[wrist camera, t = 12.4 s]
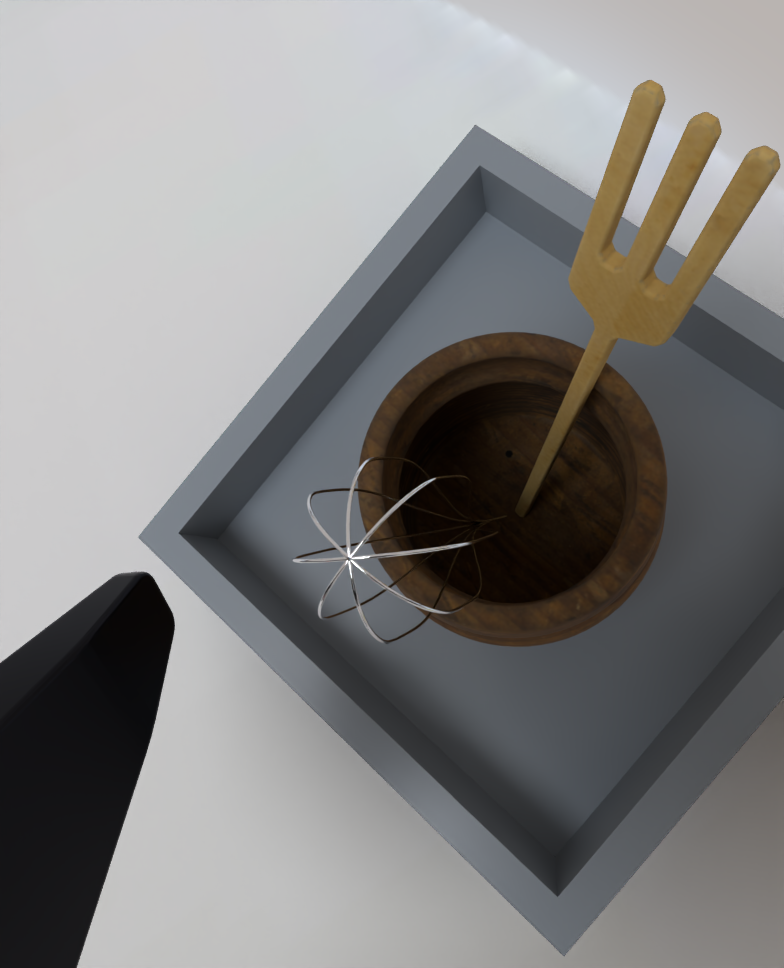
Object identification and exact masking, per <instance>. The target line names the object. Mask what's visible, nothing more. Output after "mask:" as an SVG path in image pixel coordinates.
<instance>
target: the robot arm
mask: <svg viewBox="0 0 784 968" xmlns="http://www.w3.org/2000/svg"><path fill="white" fill-rule="evenodd" d="M174 630H175V623H174V617H173V613H172V611H171V609H170V607H169V606H168V604H167V602H166V600H165V598H164V596H163V595H162V593H161V591H160V589H159V587H158V585H157V583H156V582H155V580H154V578H153V577H152V576H151V575H150V574H149V573H147V572H131V573H121V574H118V575H115V576H114V577H112V578H111V579H110V580H108V581H107V582H106V583H104V584H103V585H102V586H100V587H99V588H98V589H96V590H95V591H94V592H93V593H91V594H90V595H89V596H87V597H86V598H85V599H83V600H82V601H81V602H79V603H78V604H77V605H76V606H74V607H73V608H72V609H70V610H69V611H68V612H66V613H65V614H64V615H62V616H61V617H60V618H59V619H57V620H56V621H55V622H53V623H52V624H51V625H49V626H48V627H47V628H45V629H44V630H43V631H42V632H40V633H39V634H38V635H36V636H35V637H34V638H32V639H31V640H30V641H28V642H27V643H26V644H24V645H23V646H22V647H21V648H19V649H18V650H17V651H15V652H14V653H13V654H11V655H10V656H9V657H7V658H6V659H5V660H4V661H2V662H1V663H0V968H77V965H78V962H79V959H80V956H81V953H82V950H83V947H84V944H85V941H86V937H87V934H88V931H89V928H90V925H91V922H92V919H93V916H94V913H95V910H96V907H97V904H98V901H99V897H100V894H101V891H102V888H103V885H104V882H105V879H106V876H107V873H108V870H109V867H110V864H111V861H112V857H113V854H114V851H115V848H116V845H117V842H118V839H119V836H120V833H121V830H122V827H123V824H124V821H125V818H126V814H127V811H128V808H129V805H130V802H131V799H132V796H133V793H134V790H135V787H136V784H137V781H138V778H139V774H140V771H141V768H142V765H143V762H144V759H145V756H146V753H147V749H148V746H149V743H150V739H151V736H152V732H153V728H154V724H155V720H156V715H157V711H158V706H159V701H160V697H161V692H162V687H163V683H164V678H165V673H166V668H167V664H168V659H169V654H170V650H171V645H172V640H173V636H174Z"/></svg>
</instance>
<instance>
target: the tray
mask: <svg viewBox="0 0 784 968" xmlns="http://www.w3.org/2000/svg"><path fill="white" fill-rule="evenodd" d="M594 203H595V200H594V199H593V198H591V197H589V196H588V195H586V194H585V193H583V192H581V191H580V190H578V189H577V188H575V187H574V186H572V185H570V184H569V183H567V182H566V181H564V180H562V179H561V178H559V177H558V176H556V175H554V174H553V173H551V172H550V171H548V170H547V169H545V168H543V167H542V166H540V165H539V164H537V163H535V162H534V161H532V160H531V159H529V158H528V157H526V156H524V155H523V154H521V153H520V152H518V151H516V150H515V149H513V148H512V147H510V146H508V145H507V144H505V143H504V142H502V141H501V140H499V139H497V138H496V137H494V136H493V135H491V134H489V133H488V132H486V131H485V130H483V129H481V128H480V127H478V126H477V125H475V126H474V127H473V128H472V130H471V131H470V132H469V133H468V134H467V136H466V137H465V138H464V139H463V141H462V142H461V143H460V144H459V145H458V147H457V148H456V149H455V150H454V152H453V153H452V154H451V155H450V156H449V158H448V159H447V160H446V161H445V163H444V164H443V165H442V166H441V167H440V169H439V170H438V171H437V172H436V174H435V175H434V176H433V177H432V178H431V180H430V181H429V182H428V183H427V185H426V186H425V187H424V188H423V189H422V191H421V192H420V193H419V194H418V196H417V197H416V198H415V199H414V200H413V202H412V203H411V204H410V205H409V207H408V208H407V209H406V210H405V211H404V213H403V214H402V215H401V216H400V218H399V219H398V220H397V221H396V222H395V224H394V225H393V226H392V227H391V229H390V230H389V231H388V232H387V233H386V235H385V236H384V237H383V238H382V240H381V241H380V242H379V243H378V244H377V246H376V247H375V248H374V249H373V251H372V252H371V253H370V254H369V255H368V257H367V258H366V259H365V260H364V262H363V263H362V264H361V265H360V266H359V268H358V269H357V270H356V271H355V273H354V274H353V275H352V276H351V277H350V279H349V280H348V281H347V282H346V284H345V285H344V286H343V287H342V288H341V290H340V291H339V292H338V293H337V295H336V296H335V297H334V298H333V299H332V301H331V302H330V303H329V304H328V306H327V307H326V308H325V309H324V310H323V312H322V313H321V314H320V315H319V317H318V318H317V319H316V320H315V321H314V323H313V324H312V325H311V326H310V328H309V329H308V330H307V331H306V332H305V334H304V335H303V336H302V337H301V339H300V340H299V341H298V342H297V343H296V345H295V346H294V347H293V348H292V350H291V351H290V352H289V353H288V354H287V356H286V357H285V358H284V359H283V361H282V362H281V363H280V364H279V365H278V367H277V368H276V369H275V370H274V372H273V373H272V374H271V375H270V376H269V378H268V379H267V380H266V381H265V383H264V384H263V385H262V386H261V387H260V389H259V390H258V391H257V392H256V394H255V395H254V396H253V397H252V398H251V400H250V401H249V402H248V403H247V405H246V406H245V407H244V408H243V409H242V411H241V412H240V413H239V414H238V416H237V417H236V418H235V419H234V420H233V422H232V423H231V424H230V425H229V427H228V428H227V429H226V430H225V431H224V433H223V434H222V435H221V436H220V438H219V439H218V440H217V441H216V442H215V444H214V445H213V446H212V447H211V449H210V450H209V451H208V452H207V453H206V455H205V456H204V457H203V458H202V460H201V461H200V462H199V463H198V464H197V466H196V467H195V468H194V469H193V471H192V472H191V473H190V474H189V475H188V477H187V478H186V479H185V480H184V482H183V483H182V484H181V485H180V486H179V488H178V489H177V490H176V491H175V493H174V494H173V495H172V496H171V497H170V499H169V500H168V501H167V502H166V504H165V505H164V506H163V507H162V508H161V510H160V511H159V512H158V513H157V515H156V516H155V517H154V518H153V519H152V521H151V522H150V523H149V524H148V526H147V527H146V528H145V529H144V530H143V532H142V533H141V534H140V535H139V537H138V538H139V539H140V540H141V541H142V542H143V543H144V544H146V545H147V546H148V547H149V548H150V549H151V550H152V551H153V552H154V553H155V554H156V555H157V556H158V557H159V558H160V559H161V560H162V561H163V562H164V563H165V564H166V565H167V566H168V567H169V568H170V569H171V570H172V571H173V572H174V573H175V574H176V575H177V576H178V577H179V578H180V579H181V580H182V581H183V582H184V583H185V584H186V585H187V586H188V587H189V588H190V589H191V590H192V591H193V592H194V593H195V594H196V595H197V596H198V597H199V598H200V599H201V600H202V601H203V602H204V603H205V604H206V605H207V606H208V607H210V608H211V609H212V610H213V611H214V612H215V613H216V614H217V615H218V616H219V617H220V618H221V619H222V620H223V621H224V622H225V623H226V624H227V625H228V626H229V627H230V628H231V629H232V630H233V631H234V632H235V633H236V634H237V635H238V636H239V637H240V638H241V639H242V640H243V641H244V642H245V643H246V644H247V645H248V646H249V647H250V648H251V649H252V650H253V651H254V652H255V653H256V654H257V655H258V656H259V657H260V658H261V659H262V660H263V661H264V662H265V663H266V664H267V665H268V666H269V667H270V668H271V669H272V670H274V671H275V672H276V673H277V674H278V675H279V676H280V677H281V678H282V679H283V680H284V681H285V682H286V683H287V684H288V685H289V686H290V687H291V688H292V689H293V690H294V691H295V692H296V693H297V694H298V695H299V696H300V697H301V698H302V699H303V700H304V701H305V702H306V703H307V704H308V705H309V706H310V707H311V708H312V709H313V710H314V711H315V712H316V713H317V714H318V715H319V716H320V717H321V718H322V719H323V720H324V721H325V722H326V723H327V724H328V725H329V726H330V727H331V728H332V729H333V730H334V731H335V732H336V733H337V734H339V735H340V736H341V737H342V738H343V739H344V740H345V741H346V742H347V743H348V744H349V745H350V746H351V747H352V748H353V749H354V750H355V751H356V752H357V753H358V754H359V755H360V756H361V757H362V758H363V759H364V760H365V761H366V762H367V763H368V764H369V765H370V766H371V767H372V768H373V769H374V770H375V771H376V772H377V773H378V774H379V775H380V776H381V777H382V778H383V779H384V780H385V781H386V782H387V783H388V784H389V785H390V786H391V787H392V788H393V789H394V790H395V791H396V792H397V793H398V794H399V795H400V796H401V797H403V798H404V799H405V800H406V801H407V802H408V803H409V804H410V805H411V806H412V807H413V808H414V809H415V810H416V811H417V812H418V813H419V814H420V815H421V816H422V817H423V818H424V819H425V820H426V821H427V822H428V823H429V824H430V825H431V826H432V827H433V828H434V829H435V830H436V831H437V832H438V833H439V834H440V835H441V836H442V837H443V838H444V839H445V840H446V841H447V842H448V843H449V844H450V845H451V846H452V847H453V848H454V849H455V850H456V851H457V852H458V853H459V854H460V855H461V856H462V857H463V858H464V859H465V860H467V861H468V862H469V863H470V864H471V865H472V866H473V867H474V868H475V869H476V870H477V871H478V872H479V873H480V874H481V875H482V876H483V877H484V878H485V879H486V880H487V881H488V882H489V883H490V884H491V885H492V886H493V887H494V888H495V889H496V890H497V891H498V892H499V893H500V894H501V895H502V896H503V897H504V898H505V899H506V900H507V901H508V902H509V903H510V904H511V905H512V906H513V907H514V908H515V909H516V910H517V911H518V912H519V913H520V914H521V915H522V916H523V917H524V918H525V919H526V920H527V921H528V922H529V923H531V924H532V925H533V926H534V927H535V928H536V929H537V930H538V931H539V932H540V933H541V934H542V935H543V936H544V937H545V938H546V939H547V940H548V941H549V942H550V943H551V944H552V945H553V946H554V947H555V948H556V949H557V950H558V951H559V952H560V953H561V954H562V955H563V956H565V955H566V953H567V952H568V951H569V950H570V949H571V948H572V946H573V945H574V944H575V943H576V942H577V940H578V939H579V938H580V937H581V936H582V935H583V933H584V932H585V931H586V930H587V929H588V927H589V926H590V925H591V924H592V923H593V922H594V920H595V919H596V918H597V917H598V916H599V914H600V913H601V912H602V911H603V910H604V909H605V907H606V906H607V905H608V904H609V903H610V901H611V900H612V899H613V898H614V897H615V896H616V894H617V893H618V892H619V891H620V890H621V888H622V887H623V886H624V885H625V884H626V883H627V881H628V880H629V879H630V878H631V877H632V875H633V874H634V873H635V872H636V871H637V870H638V868H639V867H640V866H641V865H642V864H643V862H644V861H645V860H646V859H647V858H648V857H649V855H650V854H651V853H652V852H653V851H654V849H655V848H656V847H657V846H658V845H659V844H660V842H661V841H662V840H663V839H664V838H665V836H666V835H667V834H668V833H669V832H670V831H671V829H672V828H673V827H674V826H675V825H676V823H677V822H678V821H679V820H680V819H681V818H682V816H683V815H684V814H685V813H686V812H687V810H688V809H689V808H690V807H691V806H692V805H693V803H694V802H695V801H696V800H697V799H698V797H699V796H700V795H701V794H702V793H703V792H704V790H705V789H706V788H707V787H708V786H709V784H710V783H711V782H712V781H713V780H714V779H715V777H716V776H717V775H718V774H719V773H720V772H721V770H722V769H723V768H724V767H725V766H726V764H727V763H728V762H729V761H730V760H731V759H732V757H733V756H734V755H735V754H736V753H737V751H738V750H739V749H740V748H741V747H742V746H743V744H744V743H745V742H746V741H747V740H748V738H749V737H750V736H751V735H752V734H753V733H754V731H755V730H756V729H757V728H758V727H759V725H760V724H761V723H762V722H763V721H764V720H765V718H766V717H767V716H768V715H769V714H770V712H771V711H772V710H773V709H774V708H775V707H776V705H777V704H778V703H779V702H780V701H781V699H782V698H783V697H784V319H783V318H782V317H780V316H778V315H777V314H775V313H774V312H772V311H770V310H769V309H767V308H766V307H764V306H762V305H761V304H759V303H758V302H756V301H755V300H753V299H751V298H750V297H748V296H747V295H745V294H743V293H742V292H740V291H739V290H737V289H735V288H734V287H732V286H731V285H729V284H728V283H726V282H724V281H723V280H721V279H720V278H718V277H716V276H715V275H713V274H712V275H711V276H710V278H709V279H708V281H707V283H706V284H705V286H704V287H703V289H702V290H701V292H700V294H699V295H698V297H697V298H696V300H695V301H694V303H693V304H692V306H691V308H690V309H689V311H688V312H687V314H686V315H685V317H684V319H683V320H682V322H681V323H680V325H679V326H678V328H677V329H676V331H675V332H674V334H673V335H672V336H671V337H670V338H669V339H668V340H667V341H666V343H664V344H662V345H659V346H655V347H654V346H650V345H646V344H642V343H637V342H633V341H629V340H625V339H621V338H618V340H617V342H616V344H615V346H614V348H613V350H612V352H611V354H610V355H609V357H608V359H607V361H606V363H608V364H609V365H610V366H611V367H613V368H614V369H615V370H616V371H617V372H618V373H619V374H621V375H622V376H623V377H624V378H625V379H626V380H627V382H628V383H629V384H630V385H631V386H632V387H633V388H634V390H635V391H636V392H637V394H638V395H639V396H640V398H641V399H642V401H643V402H644V404H645V405H646V407H647V409H648V411H649V412H650V414H651V416H652V418H653V421H654V423H655V425H656V427H657V430H658V433H659V436H660V439H661V442H662V446H663V450H664V455H665V461H666V468H667V482H668V483H667V502H666V512H665V521H664V527H663V532H662V536H661V540H660V543H659V547H658V549H657V552H656V555H655V557H654V559H653V562H652V564H651V566H650V568H649V570H648V571H647V573H646V575H645V576H644V578H643V580H642V581H641V583H640V584H639V585H638V587H637V588H636V590H635V591H634V592H633V593H632V594H631V596H630V597H629V598H628V599H627V600H626V601H625V602H624V603H623V604H622V605H621V606H620V607H619V608H618V609H617V610H616V611H614V612H613V613H612V614H611V615H610V616H608V617H607V618H606V619H604V620H603V621H601V622H600V623H598V624H597V625H595V626H593V627H591V628H590V629H588V630H586V631H584V632H582V633H580V634H578V635H575V636H573V637H570V638H567V639H564V640H561V641H557V642H554V643H549V644H544V645H538V646H529V647H507V646H497V645H491V644H486V643H481V642H478V641H474V640H471V639H468V638H465V637H463V636H460V635H458V634H455V633H453V632H451V631H449V630H447V629H445V628H444V627H442V626H440V625H439V624H437V623H435V622H434V621H432V620H431V619H430V618H429V619H428V620H427V621H426V622H425V623H424V624H423V625H422V626H421V627H420V628H418V629H417V630H416V631H414V632H413V633H411V634H409V635H408V636H406V637H404V638H402V639H400V640H398V641H397V642H394V643H391V644H384V643H381V642H379V641H378V640H376V639H375V638H374V637H373V636H372V635H371V634H370V633H369V631H368V630H367V628H366V627H365V625H364V623H363V621H362V619H361V617H360V614H359V612H358V609H354V610H352V611H350V612H347V613H345V614H342V615H340V616H338V617H335V618H332V619H329V620H322V619H321V618H319V616H318V607H319V603H320V601H321V598H322V596H323V594H324V592H325V590H326V589H327V587H328V585H329V584H330V582H331V580H332V579H333V578H334V576H335V575H336V573H337V572H338V570H339V569H340V567H341V566H342V565H343V563H344V562H345V561H339V562H323V563H296V562H293V561H292V558H293V557H294V556H297V555H301V554H305V553H310V552H314V551H318V550H323V549H327V548H332V547H334V546H333V545H332V544H331V543H330V542H329V541H328V540H327V538H326V537H325V536H324V535H323V534H322V533H321V531H320V530H319V529H318V527H317V526H316V524H315V523H314V521H313V519H312V518H311V516H310V513H309V511H308V507H307V499H308V497H309V495H310V494H311V493H312V492H314V491H317V490H323V489H334V488H351V485H352V482H353V479H354V477H355V475H356V473H357V471H358V468H359V461H360V455H361V451H362V446H363V443H364V440H365V437H366V433H367V431H368V428H369V426H370V424H371V421H372V419H373V417H374V415H375V413H376V411H377V410H378V408H379V406H380V405H381V403H382V402H383V400H384V399H385V397H386V396H387V395H388V393H389V392H390V391H391V389H392V388H393V387H394V386H395V385H396V383H397V382H398V381H399V380H400V379H401V378H402V377H403V376H404V375H405V374H406V373H408V372H409V371H410V370H411V369H412V368H413V367H415V366H416V365H417V364H419V363H420V362H421V361H422V360H424V359H426V358H427V357H429V356H430V355H432V354H433V353H435V352H437V351H439V350H441V349H443V348H445V347H447V346H449V345H451V344H454V343H456V342H459V341H462V340H465V339H468V338H472V337H475V336H480V335H485V334H491V333H499V332H527V333H536V334H541V335H547V336H551V337H555V338H558V339H562V340H564V341H567V342H570V343H573V344H575V345H577V346H579V347H582V348H584V349H585V350H586V348H587V345H588V343H589V341H590V339H591V336H592V334H593V332H594V329H595V327H594V322H593V319H592V318H591V316H590V315H589V314H588V312H587V311H586V310H585V308H584V307H583V305H582V304H581V303H580V301H579V300H578V299H577V297H576V296H575V295H574V293H573V292H572V290H571V289H570V285H569V280H568V278H569V275H570V272H571V269H572V266H573V263H574V260H575V257H576V254H577V251H578V248H579V245H580V242H581V240H582V237H583V234H584V231H585V228H586V225H587V222H588V220H589V217H590V214H591V211H592V208H593V205H594ZM639 230H640V228H639V227H637V226H635V225H634V224H632V223H631V222H629V221H628V220H626V219H624V218H623V217H621V219H620V221H619V224H618V227H617V229H616V232H615V235H614V237H613V240H612V242H613V245H614V248H615V250H616V251H617V252H619V253H620V254H622V255H623V256H625V257H627V256H628V254H629V251H630V249H631V247H632V245H633V243H634V240H635V238H636V236H637V234H638V232H639ZM685 260H686V257H685V256H683V255H681V254H680V253H678V252H677V251H675V250H674V249H672V248H670V247H669V246H667V245H665V247H664V249H663V251H662V253H661V255H660V257H659V259H658V261H657V263H656V265H655V267H654V271H655V274H656V276H657V278H658V279H660V280H661V281H663V282H664V283H666V284H672V282H673V280H674V279H675V277H676V275H677V273H678V272H679V270H680V268H681V267H682V265H683V263H684V261H685ZM355 488H357V489H358V480H357V482H356V486H355ZM349 493H350V491H338V492H327V493H320V494H316V495H314V496H313V497H312V499H311V507H312V510H313V513H314V515H315V517H316V518H317V520H318V522H319V523H320V525H321V526H322V527H323V529H324V530H325V531H326V532H327V533H328V535H329V536H330V537H331V538H332V539H333V540H334V541H335V542H336V543H337V544H338V545H339V546H342V545H346V514H347V504H348V498H349ZM366 535H367V534H366V531H365V528H364V525H363V521H362V517H361V513H360V507H359V500H358V492H356V491H354V493H353V498H352V504H351V515H350V543H351V544H352V543H358V542H361V540H362V539H363V538H364V537H365V536H366ZM367 541H369V539H368V540H367ZM356 547H357V546H352V547H351V553H352V552H353V550H354V549H355V548H356ZM342 549H343V550H344V551H345V552H346V553H347V548H342ZM373 554H375V553H374V551H373V549H372V546H371V544H364V545H363V546H362V547H361V548H360V549H359V551H358V552H357V553H356V555H355V556H362V555H373ZM337 557H344V556H343V555H342V554H341V553H340V552H339V551H338V550H333V551H328V552H324V553H320V554H316V555H311V556H307V557H303V558H300V559H322V558H337ZM349 560H351V558H350V557H349ZM355 561H356V562H357V563H358V564H360V565H361V566H362V567H363V568H364V569H365V570H367V571H368V572H369V573H370V574H372V575H373V576H374V577H376V578H377V579H378V580H380V581H381V582H383V583H384V584H385V585H387V586H389V585H391V584H392V583H393V581H392V579H391V578H390V577H389V575H388V574H387V573H386V571H385V570H384V568H383V567H382V565H381V564H380V562H379V560H378V558H375V559H364V560H355ZM352 565H353V564H352ZM353 573H354V579H355V585H356V590H357V594H358V598H359V602H360V603H362V602H364V601H366V600H367V599H369V598H371V597H373V596H374V595H376V594H378V593H379V592H381V591H382V590H383V589H384V588H382V587H381V586H380V585H378V584H377V583H375V582H374V581H373V580H371V579H370V578H369V577H368V576H366V575H365V574H364V573H362V572H361V571H360V570H359V569H358V568H357V567H355V566H354V565H353ZM391 589H393V590H395V591H396V592H398V593H400V594H401V595H403V594H402V592H401V591H400V590H399V589H398V587H397V586H396V584H395V585H394V586H393V587H391ZM403 596H404V595H403ZM355 605H356V603H355V599H354V595H353V591H352V586H351V580H350V574H349V566H348V565H347V566H346V568H345V569H344V570H343V572H342V573H341V575H340V576H339V577H338V579H337V580H336V582H335V583H334V585H333V587H332V588H331V590H330V591H329V593H328V595H327V597H326V599H325V601H324V604H323V607H322V615H323V616H330V615H333V614H336V613H338V612H341V611H343V610H346V609H348V608H351V607H353V606H355ZM361 608H362V611H363V613H364V616H365V618H366V620H367V622H368V624H369V626H370V627H371V629H372V630H373V631H374V632H375V633H376V634H377V635H378V636H379V637H380V638H382V639H384V640H391V639H394V638H396V637H398V636H400V635H402V634H404V633H406V632H408V631H409V630H411V629H413V628H414V627H416V626H417V625H418V624H420V623H421V622H422V621H423V620H424V619H425V617H426V616H425V615H424V614H423V613H422V612H421V611H419V610H418V609H417V608H416V607H415V606H414V605H411V604H409V603H407V602H405V601H404V600H402V599H400V598H398V597H396V596H395V595H393V594H391V593H390V592H388V591H386V592H384V593H383V594H381V595H380V596H378V597H377V598H375V599H374V600H372V601H370V602H368V603H367V604H365V605H363V606H361Z"/></svg>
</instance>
